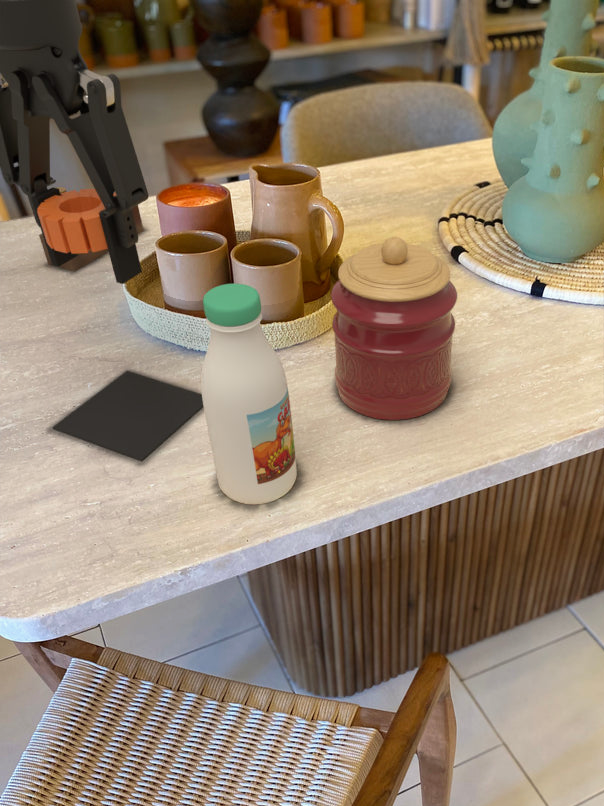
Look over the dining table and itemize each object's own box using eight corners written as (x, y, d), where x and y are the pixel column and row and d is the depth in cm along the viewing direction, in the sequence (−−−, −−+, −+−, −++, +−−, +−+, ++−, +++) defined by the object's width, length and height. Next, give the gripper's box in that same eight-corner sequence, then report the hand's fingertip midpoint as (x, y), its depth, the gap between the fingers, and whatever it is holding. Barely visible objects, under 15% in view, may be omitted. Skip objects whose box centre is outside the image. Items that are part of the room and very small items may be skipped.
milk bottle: (231, 516, 72) (195, 327, 58) (209, 467, 77) (172, 283, 63) (308, 493, 74) (292, 306, 60) (282, 447, 79) (261, 265, 65)
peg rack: (74, 272, 108) (54, 201, 101) (48, 265, 110) (26, 195, 103) (144, 231, 118) (129, 164, 111) (118, 225, 119) (102, 159, 112)
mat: (53, 430, 82) (52, 427, 81) (127, 373, 89) (127, 370, 89) (142, 462, 78) (141, 459, 77) (212, 400, 85) (211, 397, 85)
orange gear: (30, 244, 70) (19, 211, 68) (85, 215, 74) (77, 183, 72) (91, 260, 67) (82, 226, 65) (144, 228, 72) (137, 196, 70)
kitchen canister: (449, 358, 91) (460, 212, 79) (450, 425, 82) (462, 270, 70) (341, 355, 92) (335, 209, 80) (329, 421, 82) (320, 267, 70)
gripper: (157, -18, 56) (206, 273, 72) (-38, -36, 63) (46, 234, 79) (86, 1, 51) (155, 309, 67) (-117, -21, 58) (-11, 264, 74)
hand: (96, 268), depth 73 cm, fingers closed on orange gear, 7 cm apart
